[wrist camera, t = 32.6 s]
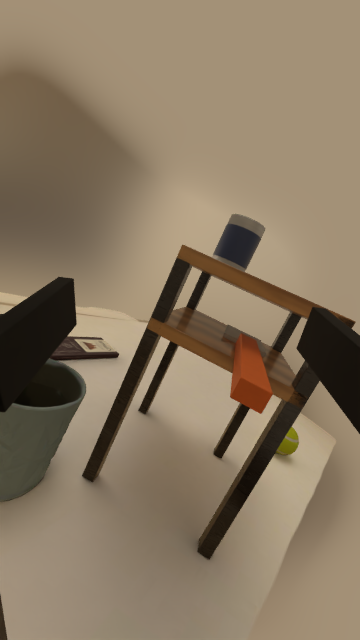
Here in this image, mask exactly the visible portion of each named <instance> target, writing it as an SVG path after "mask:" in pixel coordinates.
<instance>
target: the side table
mask: <svg viewBox="0 0 360 640" xmlns="http://www.w3.org/2000/svg"><path fill="white" fill-rule="evenodd" d="M192 266H193V267H195V268H197V269H199V270H201V271H202V273H201V275H200V278H199V280H198V282H197V284H196V287H195V289H194V291H193V293H192V296H191V297H190V299H189V302H188V304H187V306H186V307H184V308H180V309H176V310H173V308H174V306H175V304H176V302H177V300H178V297H179V295H180V293H181V291H182V288H183V286H184V284H185V282H186V280H187V277H188V275H189V273H190V270H191V268H192ZM211 276H214V277H216V278H218V279H220V280H222V281H224V282H226V283H229V284H231V285H233V286H235V287H238V288H240V289H242V290H244V291H246V292H248V293H251V294H253V295H255V296H257V297H259V298H261V299H263V300H266V301H268V302H270V303H272V304H274V305H277V306H279V307H281V308H283V309H285V310H288V311H290V314H289V315H288V317H287V319H286V321H285V323H284V324H283V326H282V328H281V330H280V332H279V334H278V335H277V337H276V339H275V341H274V343H273V344H272V346H268V345H266V344H264V343H262V344H263V347H264V349H265V352H266V355H265V357H262V356H261V357H262V360H263V363H264V367H265V370H266V373H267V376H268V380H269V383H270V386H271V389H272V392H273V395H275V396H277V397H279V398H281V399H282V400H281V402H280V404H279V406H278V407H277V409H276V411H275V412H274V414H273V416H272V417H271V419H270V421H269V422H268V424H267V426H266V428H265V429H264V431H263V433H262V434H261V436H260V438H259V439H258V441H257V443H256V444H255V446H254V448H253V450H252V451H251V453H250V455H249V456H248V458H247V460H246V461H245V463H244V465H243V466H242V468H241V470H240V472H239V473H238V475H237V477H236V478H235V480H234V482H233V483H232V485H231V487H230V488H229V490H228V492H227V493H226V495H225V497H224V499H223V500H222V502H221V504H220V505H219V507H218V509H217V510H216V512H215V514H214V515H213V517H212V519H211V521H210V522H209V524H208V526H207V527H206V529H205V531H204V532H203V534H202V536H201V537H200V539H199V545H198V552H199V553H200V554H202V555H203V556H205V557H206V558H208V559H210V558H211V556H212V555H213V553H214V551H215V550H216V548H217V547H218V545H219V543H220V542H221V540H222V538H223V537H224V535H225V534H226V532H227V530H228V529H229V527H230V525H231V524H232V522H233V521H234V519H235V517H236V516H237V514H238V512H239V511H240V509H241V508H242V506H243V504H244V503H245V501H246V499H247V498H248V496H249V495H250V493H251V491H252V490H253V488H254V486H255V485H256V483H257V482H258V480H259V478H260V477H261V475H262V473H263V472H264V470H265V469H266V467H267V465H268V464H269V462H270V460H271V459H272V457H273V456H274V454H275V452H276V451H277V449H278V447H279V446H280V444H281V443H282V441H283V439H284V438H285V436H286V434H287V433H288V431H289V430H290V428H291V426H292V425H293V423H294V421H295V420H296V418H297V417H298V415H299V413H300V412H301V410H302V409H303V407H304V405H305V404H306V402H307V400H308V399H309V397H310V396H311V394H312V392H313V391H314V389H315V387H316V386H317V384H318V383H319V381H320V380H319V378H318V377H317V376H316V374H315V373H314V372H313V370H312V369H311V367H310V366H309V365H308V363H307V362H306V361H305V362H304V363H303V365H302V367H301V368H300V370H299V372H298V374H297V375H296V376H295V374H294V373H293V371H292V370H291V368H290V366H289V365H288V363H287V362H286V360H285V359H284V357H283V356H282V354H281V352H282V351H283V349H284V347H285V345H286V343H287V342H288V340H289V338H290V336H291V335H292V333H293V331H294V329H295V327H296V326H297V324H298V322H299V320H300V319H301V317H303V318H305V319H308V317H309V315H310V312H311V309H312V307H318V308H324V307H322V306H319V305H317V304H315V303H313V302H310V301H308V300H306V299H304V298H301V297H299V296H297V295H295V294H293V293H290V292H288V291H286V290H283V289H281V288H279V287H277V286H275V285H272V284H270V283H268V282H266V281H263V280H261V279H259V278H257V277H254V276H252V275H250V274H248V273H245V272H243V271H241V270H239V269H236V268H234V267H232V266H230V265H228V264H225V263H223V262H221V261H219V260H216V259H214V258H212V257H209V256H207V255H205V254H203V253H201V252H198V251H196V250H193V249H192V248H189V247H187V246H185V245H182V247H181V249H180V251H179V254H178V256H177V258H176V261H175V263H174V265H173V267H172V270H171V272H170V274H169V277H168V279H167V281H166V284H165V286H164V288H163V291H162V293H161V295H160V298H159V300H158V302H157V304H156V307H155V309H154V311H153V314H152V316H151V318H150V321H149V323H148V325H147V327H146V330H145V332H144V334H143V337H142V339H141V341H140V344H139V346H138V348H137V350H136V353H135V355H134V357H133V360H132V362H131V364H130V367H129V369H128V371H127V373H126V376H125V378H124V380H123V383H122V385H121V387H120V390H119V392H118V394H117V397H116V399H115V401H114V403H113V406H112V408H111V410H110V413H109V415H108V417H107V420H106V422H105V424H104V426H103V429H102V431H101V433H100V436H99V438H98V440H97V443H96V445H95V447H94V450H93V452H92V454H91V456H90V459H89V461H88V463H87V466H86V468H85V470H84V473H83V475H82V476H83V477H85V478H86V479H88V480H89V481H91V482H93V481H94V480H95V478H96V477H97V476H98V475H99V473H100V471H101V468H102V466H103V464H104V462H105V460H106V457H107V455H108V453H109V451H110V448H111V446H112V444H113V442H114V440H115V437H116V435H117V433H118V431H119V428H120V426H121V424H122V422H123V420H124V417H125V415H126V413H127V411H128V408H129V406H130V404H131V402H132V400H133V397H134V395H135V393H136V391H137V388H138V386H139V384H140V382H141V380H142V377H143V375H144V373H145V371H146V368H147V366H148V364H149V362H150V360H151V357H152V355H153V353H154V351H155V348H156V346H157V344H158V342H159V340H160V337H161V336H162V337H164V338H166V339H168V340H169V341H170V343H169V345H168V347H167V349H166V352H165V354H164V356H163V358H162V360H161V362H160V365H159V367H158V369H157V371H156V373H155V375H154V378H153V380H152V382H151V384H150V386H149V388H148V391H147V393H146V395H145V397H144V399H143V401H142V404H141V406H140V408H139V411H141V412H142V413H144V414H146V413H147V412H148V410H149V408H150V406H151V404H152V402H153V399H154V397H155V395H156V393H157V391H158V389H159V387H160V384H161V382H162V380H163V378H164V376H165V374H166V372H167V370H168V367H169V365H170V363H171V361H172V359H173V357H174V355H175V353H176V350H177V348H178V346H181V347H183V348H185V349H187V350H189V351H191V352H193V353H194V354H196V355H198V356H200V357H202V358H204V359H206V360H208V361H210V362H212V363H214V364H216V365H218V366H219V367H221V368H223V369H225V370H227V371H229V372H231V373H233V365H234V355H235V346H236V343H234V342H232V341H230V340H228V339H226V338H224V337H223V335H224V332H225V330H226V327H227V325H225V324H223V323H221V322H219V321H217V320H215V319H213V318H211V317H209V316H207V315H205V314H203V313H201V312H199V311H197V310H196V308H197V306H198V304H199V301H200V299H201V297H202V295H203V293H204V291H205V289H206V287H207V284H208V282H209V280H210V278H211ZM327 310H328V309H327ZM328 311H330V310H328ZM330 312H331V313H332V314H333V315H335V316H336V317H337V318H338V319H340V320H341V321H342V322H343V323H345V324H346V325H347V326H348V327H350V328H351V329H352V327H353V326H354V324H355V321H353V320H351V319H349V318H346V317H344V316H342V315H340V314H337V313H335V312H333V311H330ZM249 409H250V408H249V407H247V406H245V405H243V404H242V403H240V404H239V406H238V408H237V409H236V411H235V413H234V415H233V417H232V418H231V420H230V422H229V424H228V426H227V427H226V429H225V431H224V433H223V435H222V437H221V438H220V440H219V442H218V444H217V446H216V447H215V449H214V455H216V456H218V457H219V458H222V457H223V455H224V453H225V451H226V450H227V448H228V446H229V444H230V442H231V441H232V439H233V437H234V435H235V434H236V432H237V430H238V428H239V427H240V425H241V423H242V421H243V420H244V418H245V416H246V414H247V412H248V411H249Z"/></svg>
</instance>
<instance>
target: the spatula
mask: <svg viewBox="0 0 360 640" xmlns="http://www.w3.org/2000/svg"><path fill="white" fill-rule="evenodd" d="M223 337H224V338H226V339H228V340H230V341H232V342H234V343H236V346H235V355H234V365H233V375H232V384H231V394H230V397H231V398H232V399H234V400H236V401H238V402H240V403H242V404H243V405H245V406H247V407H249V408H251V409H253V410H255V411H256V412H258V413H260V414H261V413H262V412H263V410H264V408H265V407H266V405H267V403H268V401H269V400H270V398H271V396H272V395H273V392H272V389H271V386H270V383H269V380H268V376H267V373H266V370H265V367H264V363H263V360H262V357H265V355H266V352H265V349H264V347H263V344H262V342H261V340H259V339H257V338H255V337H253V336H250V335H248V334H246V333H244V332H242V331H240V330H238V329H236V328H234V327H232V326H230V325H227V327H226V330H225V332H224V335H223ZM261 356H262V357H261Z"/></svg>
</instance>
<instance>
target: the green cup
mask: <svg viewBox="0 0 360 640" xmlns="http://www.w3.org/2000/svg"><path fill="white" fill-rule="evenodd" d="M85 393H86V384H85V381H84V379H83V378H82V377H81V375H80V374H79V373H78V372H76V371H75V370H74V369H72V368H71V367H69V366H67V365H66V364H63V363H61V362H59V361H56V360H53V359H48V360H47V361H46V363H45V364H44V365H43V366H42V368H41V369H40V370H39V371H38V373H37V374H36V375H35V376H34V378H33V379H32V380H31V381H30V382H29V384H28V385H27V386H26V387H25V389H24V390H23V391H22V392H21V394H20V395H19V396H18V397H17V399H16V400H15V401H14V402H13V403H12V405H11V406H10V407H9V408H8V410H7V411H6V412H0V501H7V500H11V499H14V498H17V497H19V496H21V495H23V494H25V493H27V492H29V491H30V490H31V489H33V488H34V487H35V486H36V485H37V484H38V483H39V482H40V480H41V479H42V478H43V476H44V474H45V472H46V470H47V468H48V466H49V464H50V461H51V458H52V457H53V456H54V454H55V452H56V450H57V448H58V446H59V444H60V442H61V441H62V437H63V435H64V434H65V432H66V430H67V428H68V426H69V423H70V422H71V420H72V418H73V416H74V414H75V412H76V411H77V409H78V407H79V405H80V404H81V402H82V400H83V398H84V396H85Z"/></svg>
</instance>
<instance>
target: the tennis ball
mask: <svg viewBox="0 0 360 640" xmlns="http://www.w3.org/2000/svg"><path fill="white" fill-rule="evenodd" d="M298 444H299V441H298V435H297V433H296V431H295V430H294V428H292V427H291V428H290V430H289V431H288V433H287V434H286V436H285V438H284V439H283V441H282V443H281V444H280V446H279V447H278V449H277V451H276V452H277V453H279V454H281V455H288V454H292V453H293V452H295V450H296V449H297V447H298Z"/></svg>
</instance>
